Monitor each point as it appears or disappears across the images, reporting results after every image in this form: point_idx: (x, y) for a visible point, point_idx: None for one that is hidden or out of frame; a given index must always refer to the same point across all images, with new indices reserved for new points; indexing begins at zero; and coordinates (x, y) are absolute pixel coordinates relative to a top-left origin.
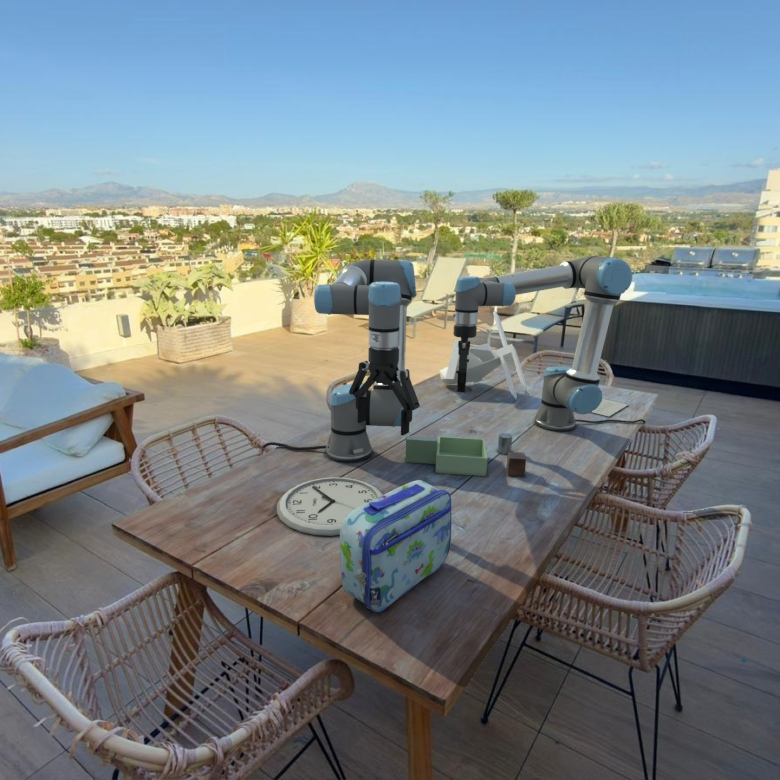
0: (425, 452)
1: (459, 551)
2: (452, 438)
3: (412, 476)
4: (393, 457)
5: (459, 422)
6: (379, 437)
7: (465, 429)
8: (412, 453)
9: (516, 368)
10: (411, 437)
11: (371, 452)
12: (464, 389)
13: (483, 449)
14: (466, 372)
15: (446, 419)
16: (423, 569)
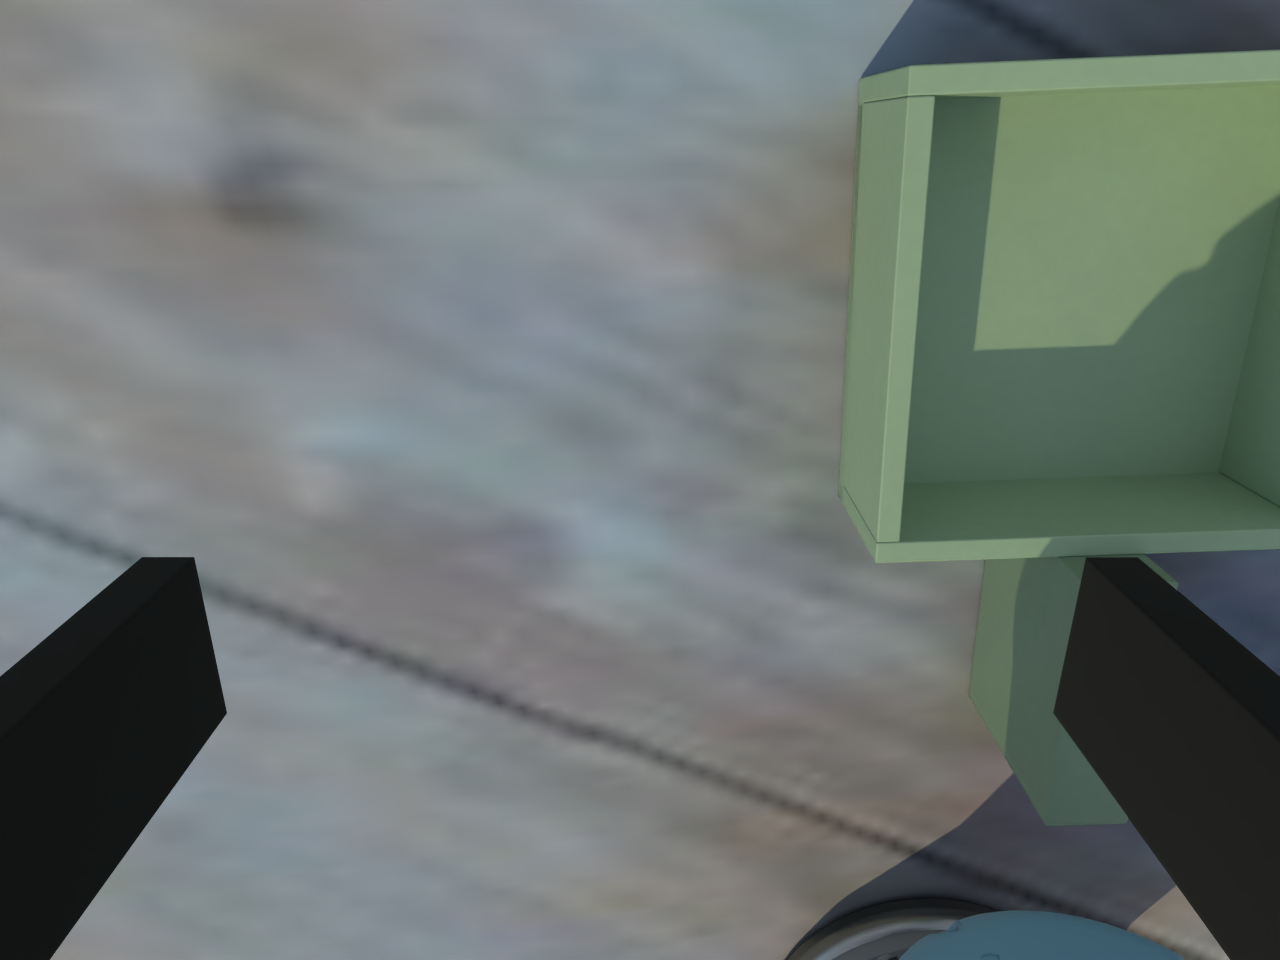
0: None
1: None
2: (907, 426)
3: (1268, 626)
4: (957, 770)
5: (54, 337)
6: (618, 892)
7: (228, 271)
8: None
9: None
10: (1085, 791)
11: (906, 901)
12: (1179, 611)
13: (1162, 86)
14: (54, 688)
15: (28, 465)
16: None
